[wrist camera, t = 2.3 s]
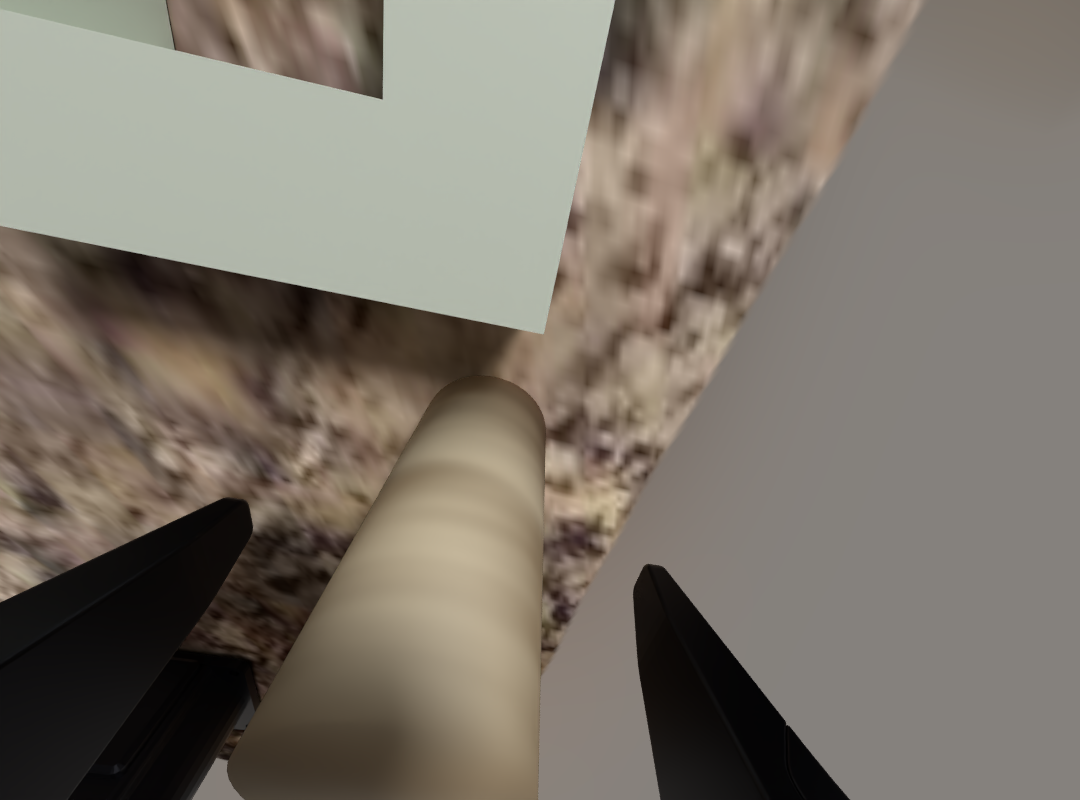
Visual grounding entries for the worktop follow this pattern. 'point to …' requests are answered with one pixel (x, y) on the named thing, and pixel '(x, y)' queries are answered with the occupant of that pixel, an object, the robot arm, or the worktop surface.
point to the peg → (423, 627)
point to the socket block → (311, 150)
